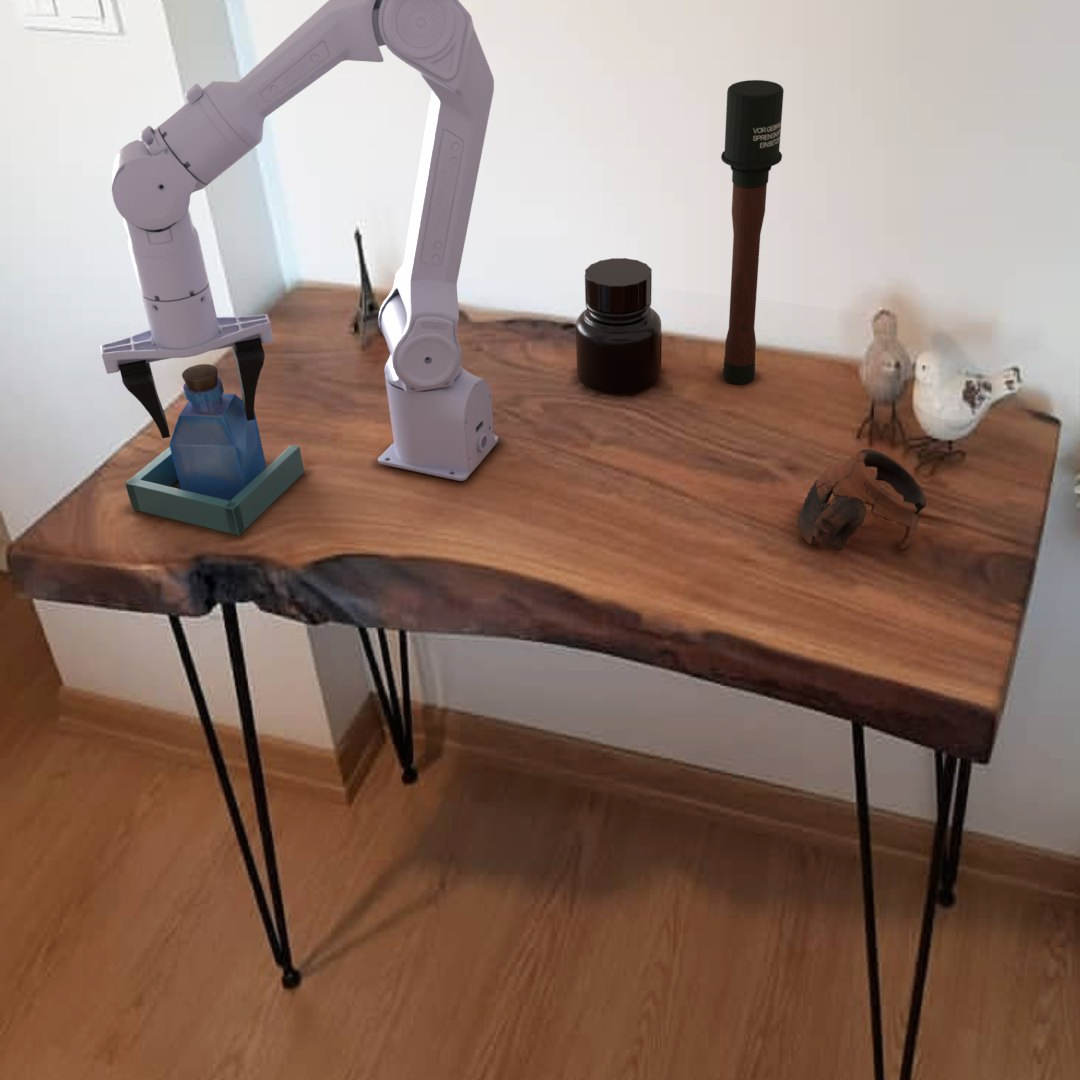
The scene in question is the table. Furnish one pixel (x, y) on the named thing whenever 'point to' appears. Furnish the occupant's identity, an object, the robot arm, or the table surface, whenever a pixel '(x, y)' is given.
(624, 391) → the ink bottle
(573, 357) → the table surface
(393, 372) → the robot arm
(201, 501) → the bay
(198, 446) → the perfume bottle
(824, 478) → the brown curved piece
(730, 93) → the grenade
